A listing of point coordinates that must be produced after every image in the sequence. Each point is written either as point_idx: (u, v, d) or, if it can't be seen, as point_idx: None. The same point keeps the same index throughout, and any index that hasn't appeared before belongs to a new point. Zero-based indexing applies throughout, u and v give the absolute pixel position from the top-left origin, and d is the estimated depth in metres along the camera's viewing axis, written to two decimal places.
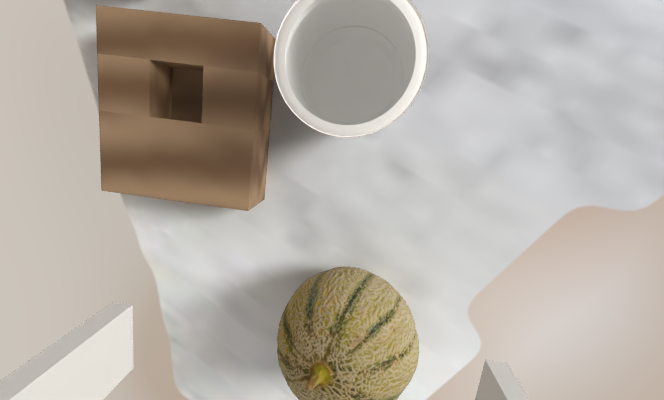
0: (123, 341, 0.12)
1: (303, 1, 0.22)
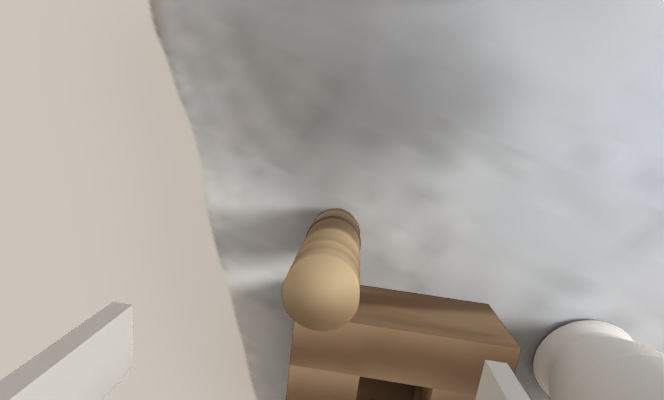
0: (123, 341, 0.12)
1: None
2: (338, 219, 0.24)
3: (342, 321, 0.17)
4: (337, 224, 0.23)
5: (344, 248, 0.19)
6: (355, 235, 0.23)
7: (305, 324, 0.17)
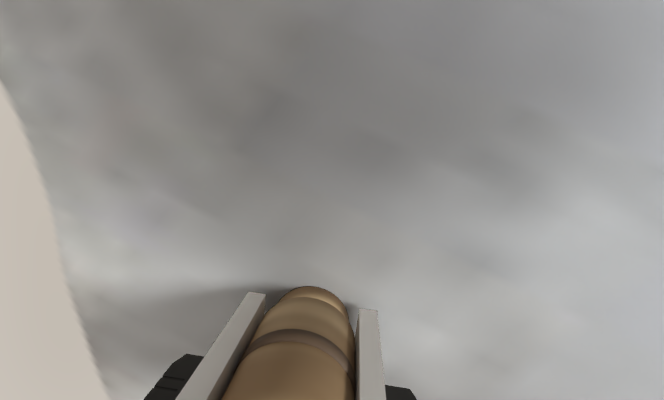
0: None
1: None
2: (303, 346, 0.10)
3: None
4: (296, 374, 0.09)
5: None
6: (343, 395, 0.09)
7: None
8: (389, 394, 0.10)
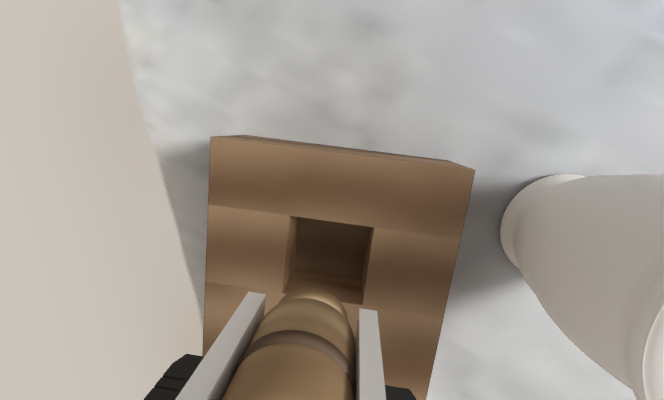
0: None
1: None
2: (303, 347, 0.10)
3: None
4: (296, 376, 0.09)
5: None
6: (342, 397, 0.09)
7: None
8: (389, 394, 0.10)
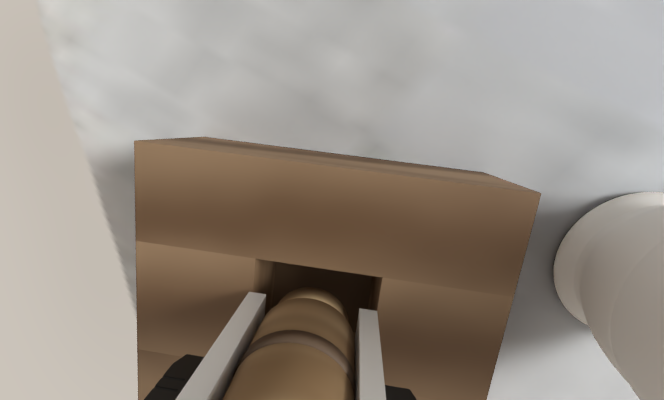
0: None
1: None
2: (303, 347, 0.10)
3: None
4: (296, 376, 0.09)
5: None
6: (343, 396, 0.09)
7: None
8: (389, 394, 0.10)
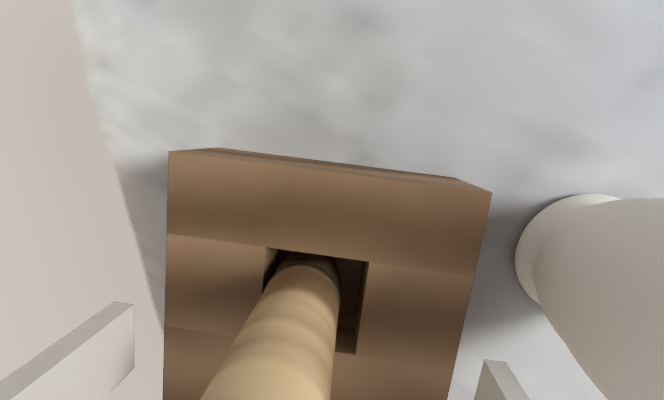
0: (124, 341, 0.12)
1: None
2: (308, 270, 0.17)
3: None
4: (304, 280, 0.15)
5: (307, 335, 0.12)
6: (331, 295, 0.16)
7: None
8: None
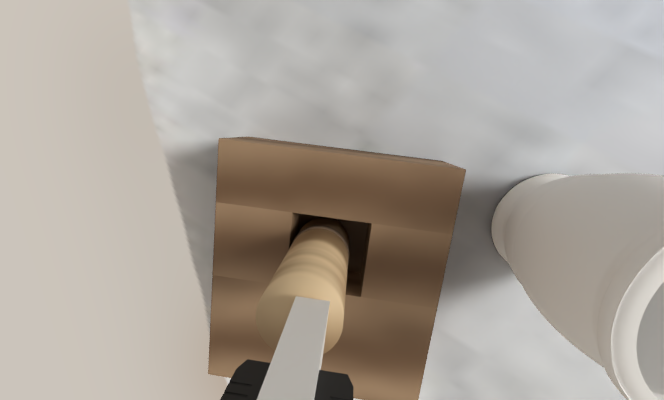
0: None
1: None
2: (325, 229, 0.22)
3: (324, 348, 0.15)
4: (323, 235, 0.21)
5: (328, 264, 0.17)
6: (343, 247, 0.21)
7: None
8: (326, 379, 0.11)
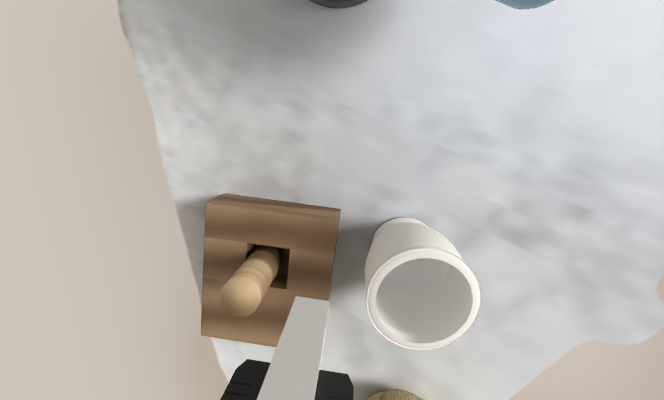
0: None
1: (391, 263, 0.30)
2: (264, 252, 0.40)
3: (251, 311, 0.33)
4: (261, 256, 0.39)
5: (257, 272, 0.35)
6: (272, 262, 0.39)
7: (233, 312, 0.33)
8: (326, 379, 0.11)
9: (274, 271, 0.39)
